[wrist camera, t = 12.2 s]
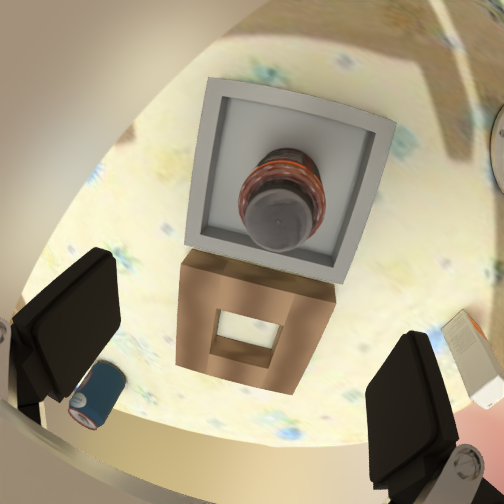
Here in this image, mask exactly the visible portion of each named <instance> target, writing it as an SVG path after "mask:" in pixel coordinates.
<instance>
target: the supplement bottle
mask: <svg viewBox="0 0 504 504" xmlns="http://www.w3.org/2000/svg"><path fill="white" fill-rule="evenodd" d="M238 210H239V215H240V218H241V220H242V222H243V224H244V226H245V228H246V230H247V232H248V234H249V236H250V237H251V239H252V240H253V241H254V242H255V243H256V244H257V245H259V246H260V247H262V248H264V249H266V250H268V251H272V252H286V251H290V250H293V249H295V248H297V247H299V246H300V245H302V244H303V243H304V242H305V241H306V240H308V239H309V238H310V237H311V236H313V235H314V234H315V233H316V231H317V230H318V229H319V227H320V226H321V224H322V222H323V219H324V215H325V210H326V199H325V193H324V189H323V185H322V181H321V177H320V173H319V170H318V168H317V166H316V164H315V163H314V161H313V160H312V159H311V158H310V157H309V156H308V155H307V154H305V153H304V152H302V151H300V150H297V149H293V148H280V149H276V150H274V151H271V152H270V153H268V154H267V155H265V156H264V157H263V158H262V159H261V161H260V162H259V163H258V164H257V166H256V167H255V168H254V170H253V171H252V172H251V173H250V175H249V176H248V177H247V179H246V180H245V182H244V183H243V185H242V187H241V190H240V194H239V198H238Z"/></svg>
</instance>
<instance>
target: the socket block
mask: <svg viewBox="0 0 504 504" xmlns="http://www.w3.org/2000/svg"><path fill="white" fill-rule="evenodd" d="M335 305H336V297H335V288H334V285H333V284H329V283H325V282H321V281H317V280H313V279H309V278H305V277H301V276H297V275H293V274H289V273H285V272H281V271H277V270H273V269H269V268H265V267H261V266H257V265H253V264H249V263H245V262H241V261H237V260H233V259H229V258H225V257H221V256H218V255H214V254H210V253H206V252H202V251H198V250H194V249H192V250H191V251H190V253H189V254H188V255H187V257H186V258H185V259H184V261H183V262H182V263H181V268H180V281H179V296H178V313H177V335H176V365H178V366H181V367H184V368H187V369H190V370H193V371H197V372H200V373H203V374H207V375H210V376H214V377H217V378H221V379H225V380H228V381H232V382H236V383H240V384H244V385H248V386H252V387H256V388H261V389H265V390H270V391H274V392H279V393H284V394H289V395H293V393H294V391H295V389H296V387H297V385H298V383H299V381H300V379H301V378H302V376H303V374H304V372H305V370H306V368H307V366H308V364H309V362H310V360H311V358H312V355H313V353H314V351H315V349H316V347H317V345H318V343H319V341H320V339H321V337H322V334H323V332H324V330H325V328H326V326H327V323H328V321H329V319H330V317H331V315H332V312H333V310H334V308H335ZM221 310H224V311H228V312H231V313H235V314H239V315H243V316H247V317H250V318H254V319H258V320H262V321H266V322H270V323H275V324H279V325H280V327H279V330H278V333H277V335H276V338H275V341H274V344H273V347H272V349H268V348H264V347H260V346H256V345H252V344H248V343H244V342H240V341H236V340H232V339H229V338H225V337H221V336H218V335H216V334H217V328H218V323H219V317H220V311H221Z"/></svg>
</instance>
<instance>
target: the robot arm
mask: <svg viewBox="0 0 504 504" xmlns="http://www.w3.org/2000/svg"><path fill="white" fill-rule="evenodd" d="M491 161H492V167H493V172H494V176H495V178H496V181H497V184H498V186H499V188H500V189H501V191H502V193H503V194H504V106H503V108H502V109H501V111H500V112H499V114H498V116H497V118H496V120H495V123H494V127H493V131H492V137H491ZM12 320H13V322H14V323H13V324H12V325H11V326H10V325H9V323H8V322H7V321H6V320H5V319H3V318H0V504H215V503H211V502H208V501H204V500H200V499H197V498H193V497H190V496H186V495H184V494H180V493H177V492H174V491H171V490H168V489H166V488H163V487H160V486H157V485H155V484H152V483H149V482H147V481H144V480H142V479H139V478H137V477H135V476H132V475H130V474H128V473H125V472H123V471H121V470H119V469H117V468H114V467H112V466H110V465H108V464H106V463H104V462H102V461H100V460H98V459H96V458H94V457H92V456H90V455H89V454H87V453H85V452H83V451H81V450H79V449H78V448H76V447H74V446H72V445H71V444H69V443H67V442H66V441H64V440H62V439H61V438H59V437H57V436H56V435H54V434H53V433H51V432H49V431H48V430H47V425H46V418H45V409H44V399H45V397H46V396H47V395H48V396H49V397H51V398H52V399H54V400H56V401H57V402H59V403H60V402H61V401H62V400H63V398H64V397H65V398H66V397H68V396H70V394H71V393H72V392H73V390H74V389H75V387H76V386H77V385H78V383H79V382H80V380H81V379H82V377H83V376H84V375H85V373H86V372H87V370H88V369H89V368H90V366H91V365H92V364H93V362H94V361H95V359H96V358H97V357H98V355H99V354H100V353H101V351H102V350H103V349H104V347H105V346H106V345H107V343H108V342H109V341H110V339H111V338H112V337H113V335H114V334H115V333H116V331H117V330H118V328H119V326H120V323H121V316H120V306H119V296H118V284H117V269H116V259H115V258H114V257H113V255H112V253H111V252H110V251H107V250H104V249H101V248H98V247H94V248H93V249H91V250H90V251H89V252H87V253H86V254H85V255H84V256H82V257H81V258H80V259H79V260H77V261H76V262H75V263H74V264H73V265H71V266H70V267H69V268H68V269H67V270H65V271H64V272H63V273H62V274H61V275H59V276H58V277H57V278H56V279H55V280H53V281H52V282H51V283H50V284H49V285H48V286H47V287H45V288H44V289H43V290H42V291H41V292H40V293H39V294H38V295H36V296H35V297H34V298H33V299H32V300H31V301H30V302H29V303H28V304H26V305H25V306H24V307H23V308H22V309H21V310H20V311H19V312H18V313H17V314H16V315H15V316H14V317H13V318H12ZM365 398H366V411H367V425H368V443H369V471H370V472H369V475H370V480H371V482H373V485H374V486H373V489H374V490H377V489H378V490H381V489H388V495H389V496H388V497H387V498H386V500H385V501H384V502H383V503H382V504H504V495H503V494H502V493H501V492H499V491H498V490H497V489H496V488H495V487H494V486H492V485H491V484H490V483H489V482H488V481H487V480H486V479H484V478H483V473H484V460H483V457H482V456H481V453H480V452H479V451H478V450H477V449H476V448H475V447H473V446H472V445H469V444H461V445H459V446H457V447H456V441H458V440H459V436H458V432H457V428H456V424H455V420H454V416H453V412H452V408H451V405H450V401H449V398H448V394H447V391H446V388H445V385H444V381H443V378H442V375H441V372H440V369H439V366H438V363H437V360H436V357H435V354H434V352H433V349H432V346H431V343H430V341H429V338H428V336H427V334H426V333H422V332H417V331H412V330H411V331H409V332H407V334H403V335H402V336H401V337H400V339H399V341H398V342H397V344H396V345H395V347H394V348H393V350H392V351H391V353H390V354H389V356H388V357H387V359H386V360H385V362H384V363H383V365H382V366H381V368H380V369H379V371H378V372H377V373H376V375H375V376H374V378H373V379H372V380H371V382H370V383H369V384H368V386H367V388H366V392H365Z"/></svg>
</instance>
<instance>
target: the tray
mask: <svg viewBox="0 0 504 504" xmlns="http://www.w3.org/2000/svg"><path fill="white" fill-rule="evenodd" d="M396 123H397V122H395V121H392V120H389V119H387V118H384V117H381V116H378V115H375V114H372V113H369V112H366V111H363V110H360V109H357V108H354V107H351V106H347V105H344V104H340V103H337V102H333V101H330V100H326V99H322V98H319V97H315V96H311V95H307V94H303V93H298V92H294V91H289V90H285V89H280V88H275V87H270V86H265V85H259V84H253V83H247V82H241V81H234V80H227V79H219V78H211V77H208V81H207V86H206V91H205V97H204V102H203V108H202V114H201V120H200V126H199V132H198V138H197V144H196V151H195V158H194V165H193V172H192V180H191V187H190V195H189V203H188V212H187V221H186V231H185V240H184V245H188V246H192V247H195V248H199V249H203V250H207V251H211V252H215V253H219V254H223V255H227V256H231V257H234V258H238V259H242V260H246V261H250V262H254V263H258V264H262V265H266V266H270V267H274V268H278V269H282V270H286V271H290V272H294V273H298V274H302V275H306V276H310V277H314V278H318V279H322V280H326V281H330V282H334V283H338V284H343V283H344V280H345V278H346V275H347V273H348V270H349V268H350V265H351V262H352V260H353V257H354V255H355V252H356V249H357V247H358V244H359V241H360V239H361V236H362V233H363V230H364V228H365V225H366V222H367V219H368V216H369V213H370V210H371V207H372V204H373V201H374V198H375V195H376V192H377V189H378V186H379V183H380V179H381V176H382V173H383V170H384V166H385V163H386V159H387V156H388V153H389V149H390V145H391V142H392V138H393V134H394V131H395V127H396ZM280 148H293V149H297V150H300V151H302V152H304V153H305V154H307V155H308V156H309V157H310V158H311V159H312V160H313V161H314V163H315V164H316V166H317V168H318V170H319V173H320V177H321V181H322V185H323V189H324V193H325V199H326V210H325V215H324V219H323V222H322V224H321V226H320V227H319V229H318V230H317V231H316V233H315V234H314V235H313V236H311V237H310V238H309V239H308V240H306V241H305V242H304V243H303V244H302V245H300V246H299V247H297V248H295V249H293V250H290V251H286V252H272V251H268V250H266V249H264V248H262V247H260V246H259V245H257V244H256V243H255V242H254V241H253V240H252V239H251V237H250V236H249V234H248V232H247V230H246V228H245V226H244V224H243V222H242V220H241V218H240V215H239V210H238V198H239V194H240V190H241V187H242V185H243V183H244V182H245V180H246V179H247V177H248V176H249V175H250V173H251V172H252V171H253V170H254V168H255V167H256V166H257V164H258V163H259V162H260V161H261V159H262V158H263V157H264V156H265V155H267V154H268V153H270V152H271V151H274V150H276V149H280Z"/></svg>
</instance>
